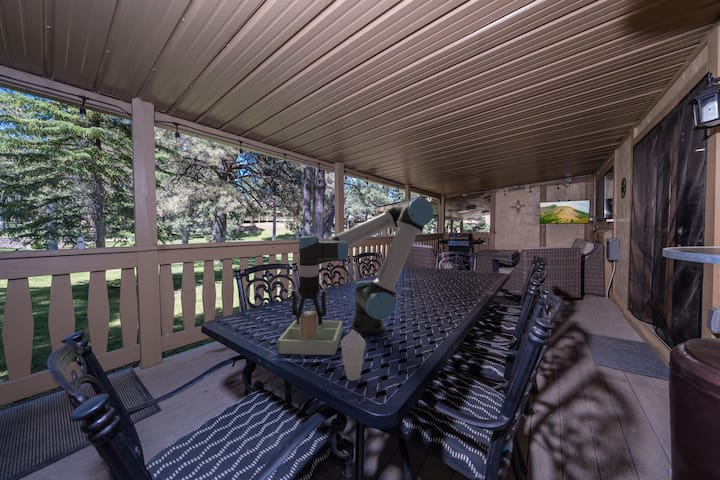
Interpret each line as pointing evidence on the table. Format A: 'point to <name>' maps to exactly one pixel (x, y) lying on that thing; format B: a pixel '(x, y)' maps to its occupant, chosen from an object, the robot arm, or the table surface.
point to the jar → (309, 324)
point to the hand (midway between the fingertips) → (309, 332)
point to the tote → (311, 340)
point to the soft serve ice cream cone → (353, 354)
